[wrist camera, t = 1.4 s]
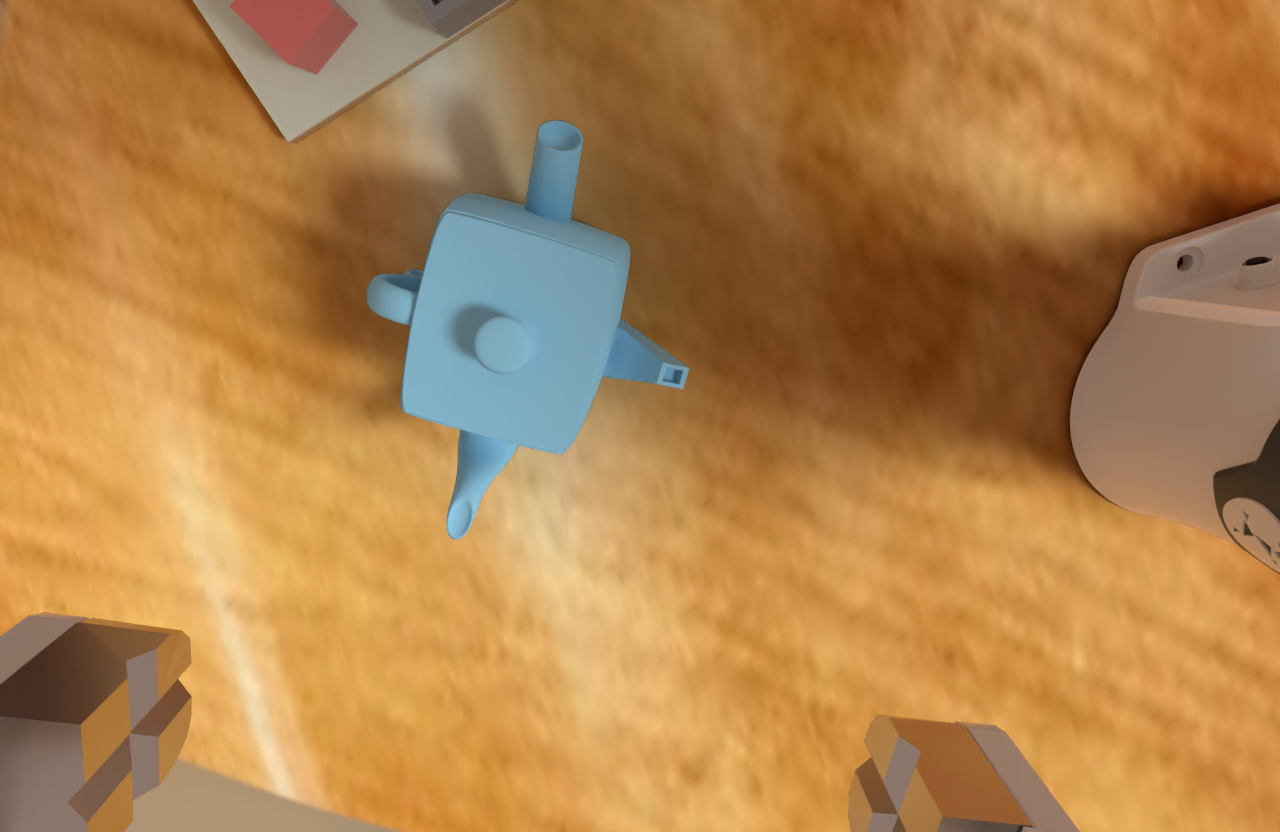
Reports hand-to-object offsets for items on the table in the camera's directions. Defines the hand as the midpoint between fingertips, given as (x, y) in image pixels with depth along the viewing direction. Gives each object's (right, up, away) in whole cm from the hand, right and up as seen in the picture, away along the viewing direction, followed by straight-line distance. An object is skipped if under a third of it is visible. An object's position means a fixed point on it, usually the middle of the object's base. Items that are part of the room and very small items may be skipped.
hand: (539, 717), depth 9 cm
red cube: (-14, +21, +24) cm, 35 cm away
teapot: (-4, +9, +29) cm, 31 cm away
